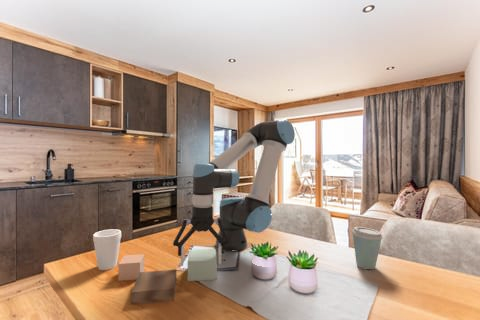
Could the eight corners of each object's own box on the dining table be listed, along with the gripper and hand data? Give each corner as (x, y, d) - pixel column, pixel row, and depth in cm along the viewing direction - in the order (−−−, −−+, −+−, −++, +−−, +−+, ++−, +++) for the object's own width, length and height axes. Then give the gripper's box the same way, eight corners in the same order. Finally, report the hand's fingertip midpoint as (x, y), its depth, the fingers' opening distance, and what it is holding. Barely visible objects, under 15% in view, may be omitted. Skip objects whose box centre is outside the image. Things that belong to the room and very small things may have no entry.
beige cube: (144, 269, 90) (144, 254, 90) (140, 279, 83) (140, 262, 83) (124, 271, 88) (124, 255, 88) (118, 281, 82) (118, 263, 81)
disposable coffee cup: (367, 259, 100) (368, 224, 100) (388, 271, 90) (389, 232, 90) (345, 262, 98) (346, 226, 98) (365, 275, 87) (366, 234, 87)
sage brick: (215, 266, 93) (215, 248, 93) (216, 279, 83) (216, 259, 83) (189, 267, 92) (189, 250, 92) (187, 281, 82) (187, 261, 82)
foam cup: (108, 273, 86) (108, 238, 86) (87, 270, 88) (87, 236, 88) (126, 262, 96) (126, 230, 96) (106, 259, 98) (106, 228, 97)
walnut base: (176, 280, 83) (176, 269, 83) (173, 301, 71) (173, 288, 71) (139, 283, 80) (139, 272, 80) (130, 305, 69) (130, 292, 69)
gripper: (234, 203, 93) (232, 257, 93) (168, 203, 88) (166, 260, 88) (238, 207, 86) (236, 265, 86) (166, 208, 81) (164, 270, 81)
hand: (201, 263), depth 87 cm, fingers open, 13 cm apart
